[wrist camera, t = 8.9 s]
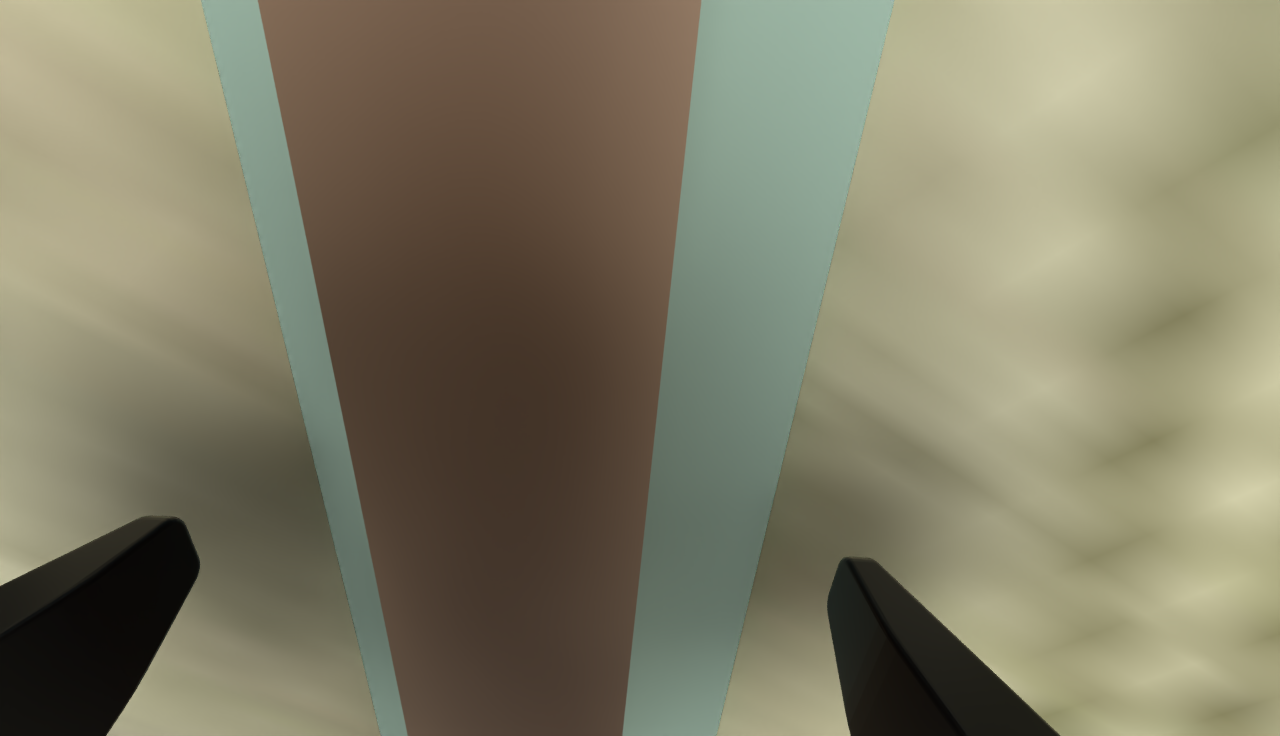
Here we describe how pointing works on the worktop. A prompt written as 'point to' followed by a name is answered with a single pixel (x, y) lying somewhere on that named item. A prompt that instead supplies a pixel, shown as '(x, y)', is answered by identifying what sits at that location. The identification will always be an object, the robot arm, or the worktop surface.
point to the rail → (495, 325)
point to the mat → (695, 332)
